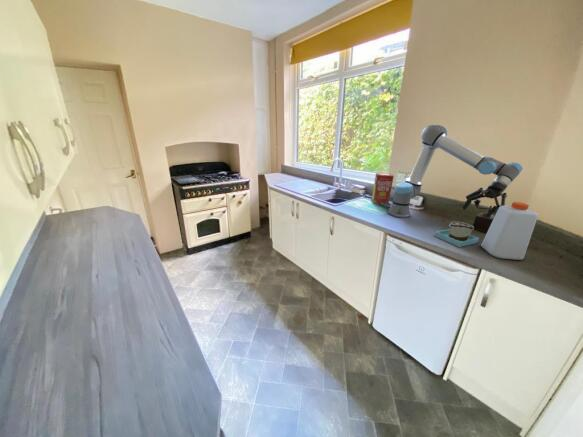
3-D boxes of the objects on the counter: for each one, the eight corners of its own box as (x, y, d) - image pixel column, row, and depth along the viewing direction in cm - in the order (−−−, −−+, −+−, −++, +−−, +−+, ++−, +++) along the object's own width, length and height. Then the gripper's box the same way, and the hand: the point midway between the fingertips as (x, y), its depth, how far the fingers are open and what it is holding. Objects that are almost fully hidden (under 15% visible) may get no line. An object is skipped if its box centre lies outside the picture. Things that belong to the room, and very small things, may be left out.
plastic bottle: (527, 262, 119) (551, 209, 108) (494, 258, 121) (514, 207, 110) (506, 247, 132) (526, 200, 122) (477, 245, 135) (494, 198, 124)
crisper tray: (434, 236, 144) (435, 231, 143) (452, 232, 151) (453, 228, 149) (459, 247, 132) (461, 242, 130) (477, 242, 138) (479, 238, 136)
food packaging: (372, 203, 204) (377, 174, 195) (371, 200, 213) (375, 172, 203) (388, 204, 202) (394, 175, 193) (386, 201, 211) (391, 173, 202)
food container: (466, 238, 142) (471, 222, 138) (469, 242, 136) (475, 226, 133) (442, 234, 145) (447, 219, 142) (445, 238, 140) (450, 223, 136)
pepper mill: (494, 229, 157) (504, 203, 150) (490, 233, 150) (500, 207, 143) (467, 222, 168) (475, 198, 161) (462, 226, 161) (470, 201, 154)
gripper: (525, 194, 130) (500, 223, 130) (477, 184, 152) (456, 209, 151) (524, 186, 126) (498, 215, 126) (475, 177, 148) (452, 202, 148)
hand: (475, 212), depth 139 cm, fingers open, 13 cm apart
